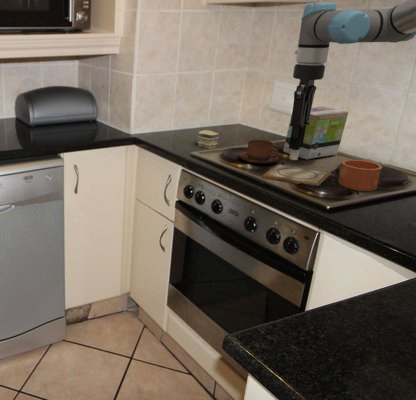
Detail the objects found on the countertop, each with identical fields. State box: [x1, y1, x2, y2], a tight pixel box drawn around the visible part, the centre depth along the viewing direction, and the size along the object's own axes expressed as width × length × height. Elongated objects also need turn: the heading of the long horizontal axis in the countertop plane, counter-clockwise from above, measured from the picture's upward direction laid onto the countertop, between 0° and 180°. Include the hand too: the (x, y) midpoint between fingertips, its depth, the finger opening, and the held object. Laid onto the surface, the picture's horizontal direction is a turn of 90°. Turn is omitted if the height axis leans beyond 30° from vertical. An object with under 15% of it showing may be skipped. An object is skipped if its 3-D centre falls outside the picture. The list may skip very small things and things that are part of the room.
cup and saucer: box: [238, 139, 280, 165], centre depth 152 cm, size 12×12×6 cm
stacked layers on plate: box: [197, 129, 220, 150], centre depth 169 cm, size 10×9×6 cm
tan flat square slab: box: [261, 163, 332, 186], centre depth 138 cm, size 15×14×1 cm
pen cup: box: [337, 159, 383, 192], centre depth 130 cm, size 9×9×6 cm
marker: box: [289, 116, 305, 161], centre depth 137 cm, size 2×2×13 cm
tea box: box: [283, 106, 349, 160], centre depth 158 cm, size 15×10×15 cm, turn 117°
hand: (295, 147), depth 138 cm, fingers closed on marker, 2 cm apart
